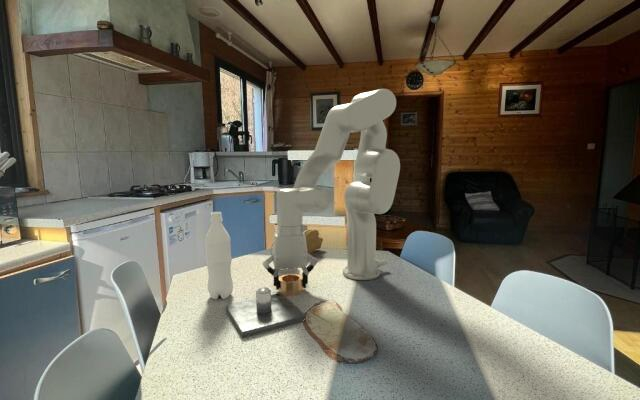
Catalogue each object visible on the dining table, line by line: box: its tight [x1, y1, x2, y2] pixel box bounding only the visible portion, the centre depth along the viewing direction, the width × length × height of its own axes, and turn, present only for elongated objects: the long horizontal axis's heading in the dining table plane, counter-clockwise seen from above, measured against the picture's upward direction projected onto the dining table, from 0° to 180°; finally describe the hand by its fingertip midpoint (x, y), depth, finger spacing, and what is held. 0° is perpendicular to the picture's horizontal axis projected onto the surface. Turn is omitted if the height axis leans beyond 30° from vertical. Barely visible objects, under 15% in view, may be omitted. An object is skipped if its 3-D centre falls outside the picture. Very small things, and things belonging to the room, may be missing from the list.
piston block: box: [225, 286, 306, 339], centre depth 91 cm, size 16×16×7 cm
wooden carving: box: [303, 229, 324, 255], centre depth 143 cm, size 16×5×10 cm, turn 150°
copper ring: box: [278, 273, 304, 297], centre depth 106 cm, size 7×7×4 cm
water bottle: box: [204, 211, 234, 300], centre depth 102 cm, size 7×7×25 cm
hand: (290, 286), depth 106 cm, fingers closed on copper ring, 7 cm apart
